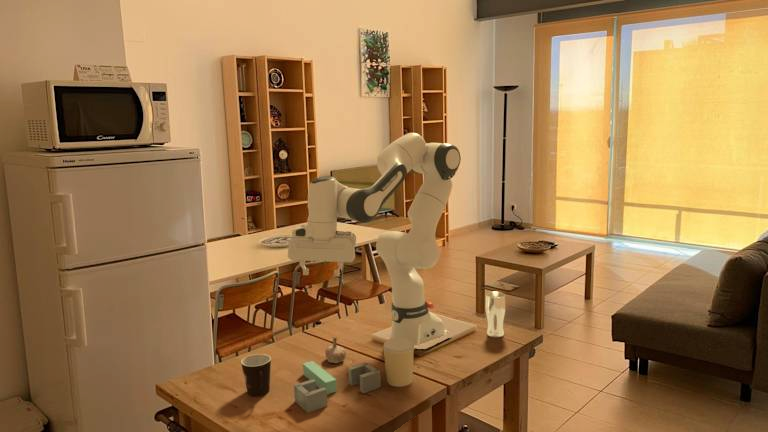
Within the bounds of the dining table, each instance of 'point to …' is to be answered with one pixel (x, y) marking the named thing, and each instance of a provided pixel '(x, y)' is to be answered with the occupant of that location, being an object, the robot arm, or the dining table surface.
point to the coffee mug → (257, 374)
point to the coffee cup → (399, 361)
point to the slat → (319, 376)
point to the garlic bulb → (335, 353)
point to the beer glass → (495, 313)
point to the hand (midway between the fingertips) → (321, 275)
